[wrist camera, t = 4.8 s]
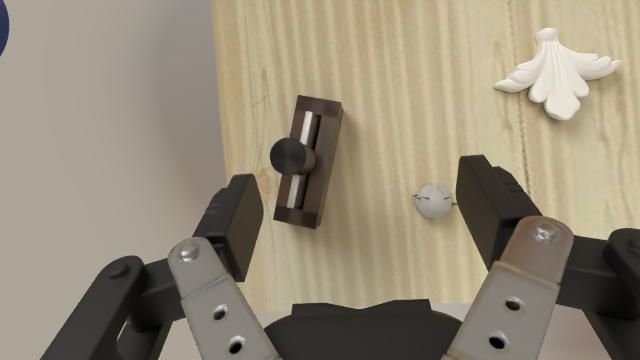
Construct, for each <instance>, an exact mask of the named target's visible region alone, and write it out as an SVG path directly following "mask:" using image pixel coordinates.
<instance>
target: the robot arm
mask: <svg viewBox="0 0 640 360" xmlns="http://www.w3.org/2000/svg"><path fill="white" fill-rule="evenodd" d="M456 200H457V204H458V207H459V209H460V211H461V214H462V216H463V218H464V220H465V222H466V224H467V227H468V229H469V231H470V233H471V235H472V237H473V240H474V242H475V244H476V246H477V248H478V250H479V253H480V255H481V257H482V259H483V261H484V263H485V266H486V268H487V270H488V272H489V273H488V275H487V277H486V279H485V281H484V282H483V284H482V286H481V288H480V290H479V292H478V294H477V296H476V298H475V300H474V302H473V304H472V306H471V307H470V310H469V311H468V313H467V315H466V317H465V319H464V321H463V322H462V321H460V320H458V319H456V318H454V317H452V316H450V315H447V314H445V313H442V312H438V311H434V310H431V306H430V302H429V299H415V300H393V301H390V302H386V303H382V304H379V305H375V306H371V307H368V308H364V309H353V308H348V307H344V306H339V305H334V304H329V303H306V304H293V306H292V314H291V315H289V316H286V317H283V318H281V319H279V320H277V321H275V322H273V323H271V324H270V325H268V326H267V327H265V328H264V329H263V328H262V326H261V325H260V323H259V321H258V319H257V318H256V316H255V314H254V313H253V311H252V309H251V308H250V306H249V304H248V303H247V301H246V299H245V298H244V296H243V294H242V292H241V291H240V289H239V287H238V286H237V284H236V282H244V281H245V278H246V275H247V271H248V268H249V264H250V261H251V258H252V254H253V251H254V247H255V244H256V241H257V237H258V234H259V230H260V227H261V224H262V220H263V215H264V209H263V203H262V200H261V196H260V193H259V189H258V186H257V182H256V179H255V176H254V175H253V174H240V175H234V176H233V177H232V179H231V181H230V183H229V185H228V187H227V188H222V189H221V190H220V191H219V192H217V193H216V194H215V195H214V196H213V198H212V200H211V202H210V204H209V207H207V209H206V211H205V214H204V215H203V217H202V219H201V221H200V223H199V225H198V227H197V228H196V230H195V232H194V234H193V236H192V238H189V239H186V240H184V241H182V242H180V243H179V244H177V245H176V246H175V247H174V248H173V249H172V250H171V251H170V253H169V255H168V258H166V259H162V260H159V261H156V262H152V263H149V264H146V265H144V263H143V262H142V260H141V259H140V258H139V257H137V256H125V257H122V258H119V259H117V260H115V261H113V262H111V263H110V264H108V265H107V266H106V267H105V268H103V269H102V271H101V272H100V273H99V274H98V276H97V277H96V279H95V280H94V282H93V283H92V285H91V286H90V287H89V289H88V290H87V292H86V293H85V295H84V296H83V298H82V299H81V301H80V302H79V303H78V305H77V306H76V308H75V309H74V311H73V312H72V314H71V315H70V316H69V318H68V319H67V321H66V322H65V324H64V325H63V327H62V328H61V330H60V331H59V333H58V334H57V335H56V337H55V339H54V340H53V341H52V343H51V344H50V346H49V347H48V348H47V350H46V351H45V353H44V354H43V356H42V357H41V359H40V360H158V358H159V356H160V353H161V351H162V348H163V345H164V343H165V340H166V338H167V335H168V333H169V330H170V328H171V325H172V323H173V321H176V320H179V319H182V318H185V317H186V318H187V321H188V323H189V326H190V329H191V331H192V334H193V337H194V339H195V342H196V345H197V347H198V350H199V353H200V355H201V358H202V360H537V359H538V356H539V353H540V350H541V346H542V344H543V340H544V337H545V334H546V331H547V328H548V325H549V322H550V318H551V315H552V312H553V309H554V306H555V304H559V305H563V306H568V307H573V308H577V309H581V310H582V311H583V312H584V314H585V316H586V317H587V319H588V321H589V322H590V324H591V326H592V327H593V329H594V331H595V332H596V334H597V336H598V337H599V339H600V341H601V342H602V344H603V346H604V347H605V349H606V350H607V352H608V354H609V356H610V357H611V359H612V360H640V230H639V229H633V228H622V229H617V230H615V231H613V232H612V233H611V234H610V236H609V238H608V241H607V240H601V239H594V238H587V237H581V236H576V235H573V232H572V231H571V230H570V229H569V228H568V227H567V226H566V225H565V224H563V223H562V222H560V221H558V220H555V219H553V218H549V217H545V216H543V215H542V213H541V212H540V211H539V209H538V208H537V207H536V206H535V204H534V203H533V202H532V200H531V199H530V198H529V196H528V195H527V194H526V193H525V192H524V190H523V189H522V187H521V186H520V185H518V182H517V181H516V180H515V178H514V177H513V176H512V174H511V173H509V172H507V171H506V170H504V169H503V168H501V167H499V166H498V167H492V166H491V165H490V163H489V162H488V160H487V159H486V157H485V156H484V155H470V156H461V157H460V160H459V167H458V175H457V184H456ZM125 322H127V323H126V325H125V327H124V329H123V331H122V333H121V335H120V337H119V339H118V341H117V338H118V335H119V333H120V331H121V329H122V327H123V325H124V323H125Z"/></svg>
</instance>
